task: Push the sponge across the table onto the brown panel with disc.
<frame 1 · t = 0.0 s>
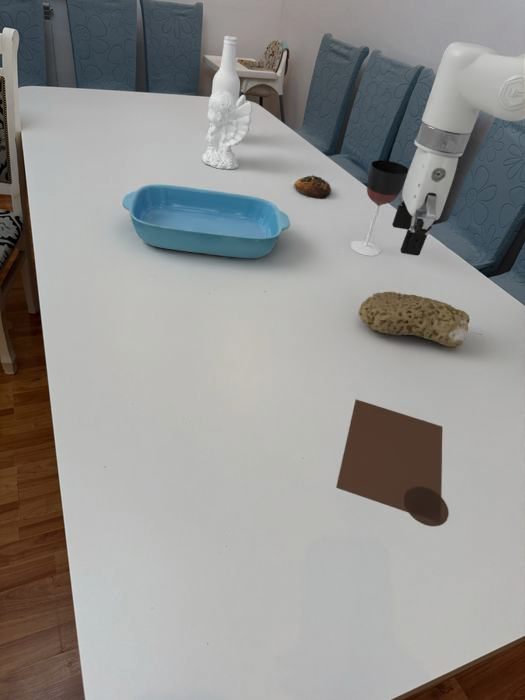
hand: (404, 240, 86), 18 cm above the table, tool pointing down, fingers open, 9 cm apart
brown panel with disc: (393, 454, 72), on the table
wineglass: (364, 248, 122), on the table
cherub figurine: (221, 162, 153), on the table
alcohol: (221, 139, 170), on the table
casserole dish: (206, 238, 114), on the table
bread roll: (312, 191, 146), on the table
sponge: (407, 332, 97), on the table
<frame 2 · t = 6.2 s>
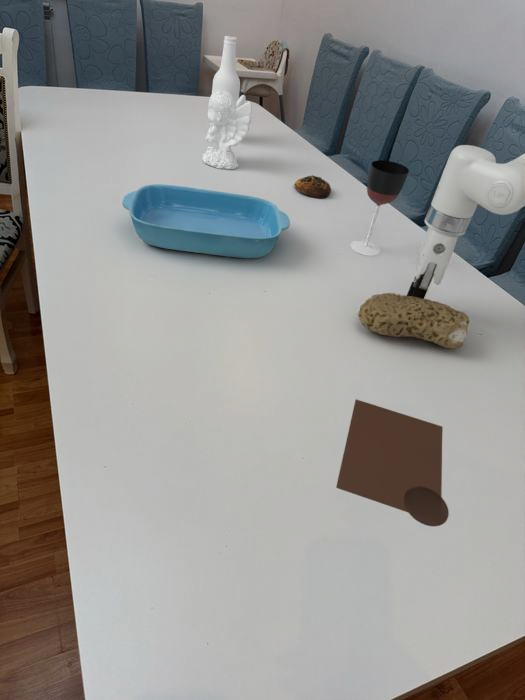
hand: (413, 301, 101), 2 cm above the table, tool pointing down, fingers closed
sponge: (407, 333, 97), on the table, touching gripper
everything else where it was.
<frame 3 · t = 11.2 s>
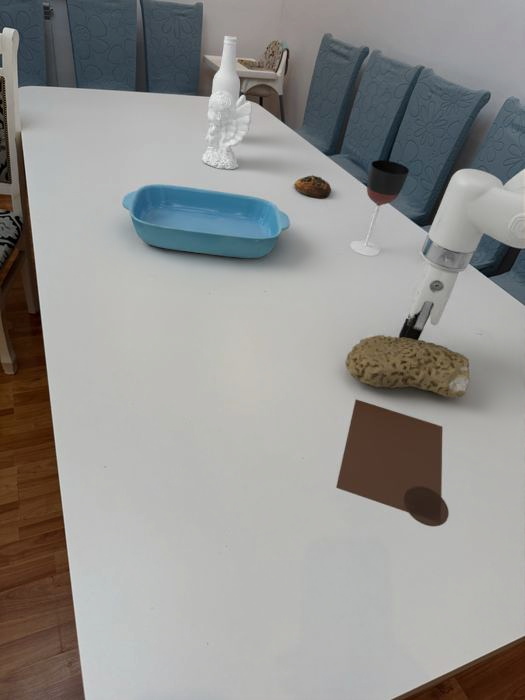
hand: (407, 340, 90), 3 cm above the table, tool pointing down, fingers closed
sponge: (400, 380, 85), on the table, touching gripper
everything else where it was.
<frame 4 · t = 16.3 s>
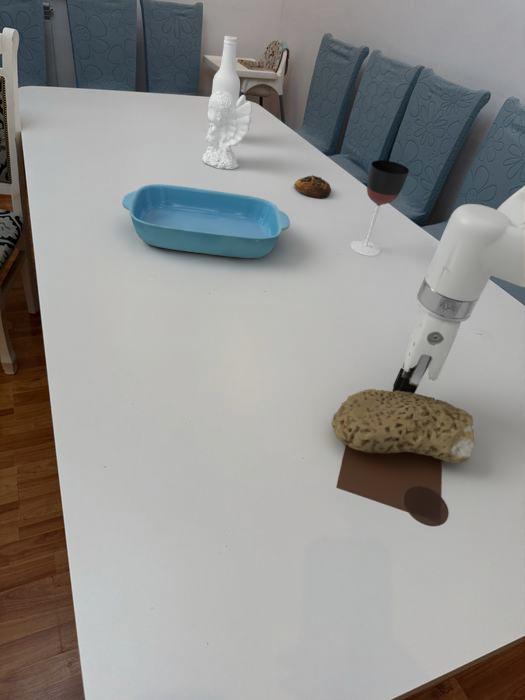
hand: (402, 392, 79), 2 cm above the table, tool pointing down, fingers closed
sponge: (395, 440, 74), on the table, touching brown panel with disc, gripper
everything else where it was.
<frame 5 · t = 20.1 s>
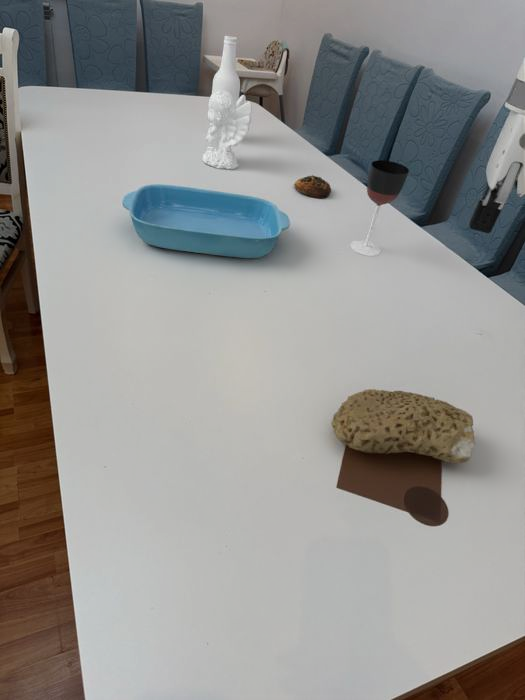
hand: (479, 228, 76), 25 cm above the table, tool pointing down, fingers closed
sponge: (395, 440, 74), on the table, touching brown panel with disc
everything else where it was.
at the end: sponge 3.0 cm from the brown panel with disc (horizontally); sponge moved 29.6 cm from its start; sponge tilted 0° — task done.
